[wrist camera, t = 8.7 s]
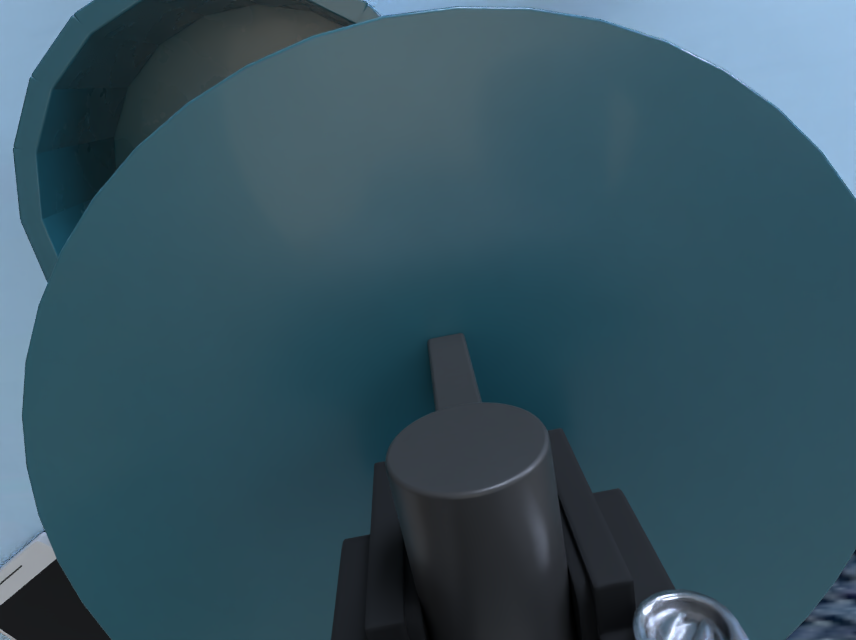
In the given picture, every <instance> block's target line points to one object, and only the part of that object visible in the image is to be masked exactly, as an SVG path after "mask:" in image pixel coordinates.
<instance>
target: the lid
mask: <svg viewBox="0 0 856 640" xmlns="http://www.w3.org/2000/svg"><path fill="white" fill-rule="evenodd" d="M22 421H23V432H24V443H25V454H26V465H27V470H28V474H29V478H30V482H31V486H32V490H33V494H34V498H35V502H36V507H37V511H38V515H39V517H40V520H41V522H42V525H43V527H44V530H45V532H46V534H47V537H48V539H49V542H50V544H51V546H52V549H53V551H54V554H55V556H56V559H57V561H58V563H59V564H60V566H61V568H62V569H63V571H64V573H65V575H66V576H67V578H68V580H69V581H70V583H71V585H72V586H73V588H74V590H75V591H76V593H77V595H78V596H79V598H80V600H81V602H82V603H83V604H84V606H85V607H86V608H87V609H88V611H89V612H90V613H91V614H92V616H93V617H94V618H95V619H96V621H97V622H98V623H99V625H100V626H101V627H102V628H103V630H104V631H105V632H106V633H107V635H108V636H109V637H110V638H111V640H331V635H332V626H333V618H334V609H335V601H336V592H337V584H338V575H339V566H340V558H341V549H342V544H343V541H344V540H345V539H348V538H353V537H359V536H364V535H369V534H370V528H371V511H372V494H373V476H374V464H375V463H378V462H383V461H385V466H386V472H387V476H388V480H389V483H390V487H391V491H392V495H393V499H394V503H395V507H396V511H397V515H398V519H399V523H400V527H401V531H402V535H403V539H404V543H405V547H406V551H407V555H408V559H409V563H410V567H411V571H412V575H413V579H414V583H415V587H416V591H417V594H418V596H419V598H420V602H421V606H422V610H423V614H424V618H425V622H426V626H427V630H428V634H429V638H430V640H578V638H577V631H576V624H575V617H574V610H573V602H572V595H571V588H570V581H569V574H568V566H567V558H566V551H565V544H564V536H563V529H562V522H561V515H560V508H559V500H558V493H557V486H556V479H555V472H554V464H553V457H552V450H551V443H550V437H549V433H548V430H553V429H559V428H562V429H563V431H564V433H565V435H566V437H567V440H568V442H569V444H570V446H571V448H572V450H573V452H574V455H575V457H576V459H577V461H578V463H579V465H580V467H581V469H582V472H583V474H584V476H585V478H586V480H587V482H588V484H589V487H590V489H591V491H592V493H596V492H601V491H607V490H612V489H617V488H619V489H620V490H622V492H623V493H624V495H625V497H626V499H627V500H628V502H629V504H630V506H631V508H632V510H633V511H634V513H635V515H636V517H637V519H638V521H639V522H640V524H641V526H642V528H643V530H644V532H645V534H646V535H647V537H648V539H649V541H650V543H651V545H652V546H653V548H654V550H655V552H656V554H657V556H658V557H659V559H660V561H661V563H662V565H663V567H664V569H665V570H666V572H667V574H668V576H669V578H670V580H671V581H672V583H673V585H674V587H675V589H684V590H690V591H695V592H700V593H702V594H704V595H707V596H709V597H712V598H714V599H715V600H717V601H718V602H720V603H721V604H722V605H724V606H725V607H727V608H728V609H729V611H730V612H731V613H732V614H733V615H734V617H735V618H736V619H737V620H738V622H739V624H740V625H741V627H742V629H743V630H744V632H745V634H746V635H747V637H748V639H749V640H785V639H786V638H787V637H788V636H789V635H790V634H791V633H792V632H793V631H794V630H795V629H796V628H797V627H798V626H799V625H800V624H801V623H802V622H803V621H804V620H805V619H806V618H807V617H808V616H809V614H810V613H811V612H812V611H813V609H814V608H815V607H816V605H817V604H818V603H819V602H820V600H821V599H822V598H823V597H824V595H825V594H826V593H827V592H828V590H829V589H830V588H831V587H832V585H833V584H834V583H835V582H836V580H837V578H838V577H839V575H840V574H841V572H842V570H843V569H844V567H845V565H846V564H847V562H848V561H849V559H850V557H851V556H852V554H853V553H854V551H855V549H856V198H855V197H854V196H853V194H852V193H851V191H850V190H849V189H848V187H847V186H846V185H845V183H844V182H843V180H842V179H841V178H840V176H839V175H838V173H837V172H836V171H835V169H834V168H833V166H832V165H831V164H830V162H829V161H828V160H827V158H826V157H825V155H824V154H823V153H822V151H821V150H820V149H819V148H818V147H817V146H816V145H815V144H814V143H813V142H812V141H811V140H810V139H809V138H808V137H807V136H806V135H805V134H804V133H803V132H802V131H801V130H800V129H799V128H798V127H797V126H796V125H795V124H794V123H793V122H792V121H791V120H790V119H789V118H788V117H787V116H786V115H785V114H784V113H783V112H782V111H781V110H780V109H779V108H778V107H776V106H775V105H773V104H772V103H771V102H769V101H768V100H766V99H765V98H764V97H762V96H761V95H759V94H758V93H757V92H755V91H754V90H753V89H751V88H750V87H748V86H747V85H746V84H744V83H743V82H741V81H740V80H739V79H737V78H736V77H734V76H733V75H732V74H730V73H729V72H727V71H726V70H724V69H722V68H720V67H718V66H716V65H714V64H712V63H710V62H708V61H706V60H704V59H702V58H700V57H698V56H696V55H694V54H692V53H690V52H688V51H686V50H684V49H682V48H680V47H678V46H676V45H674V44H672V43H670V42H668V41H666V40H663V39H660V38H657V37H654V36H651V35H648V34H645V33H642V32H638V31H635V30H632V29H629V28H626V27H623V26H620V25H617V24H614V23H611V22H607V21H604V20H601V19H596V18H590V17H584V16H578V15H572V14H566V13H560V12H553V11H547V10H541V9H535V8H525V7H459V6H456V7H448V8H441V9H433V10H425V11H418V12H410V13H402V14H395V15H387V16H381V17H378V18H374V19H371V20H367V21H364V22H360V23H357V24H353V25H349V26H346V27H342V28H339V29H335V30H332V31H328V32H325V33H321V34H317V35H314V36H311V37H309V38H307V39H304V40H302V41H300V42H298V43H295V44H293V45H291V46H289V47H286V48H284V49H282V50H280V51H277V52H275V53H273V54H271V55H269V56H266V57H264V58H262V59H260V60H257V61H255V62H253V63H251V64H248V65H246V66H245V67H243V68H241V69H240V70H238V71H237V72H235V73H234V74H232V75H230V76H229V77H227V78H226V79H224V80H223V81H221V82H219V83H218V84H216V85H215V86H213V87H212V88H210V89H208V90H207V91H205V92H204V93H202V94H201V95H199V96H197V97H196V98H194V99H193V100H191V101H190V102H188V103H186V104H185V105H184V106H183V107H182V108H181V109H180V110H178V111H177V112H176V113H175V114H174V115H173V116H172V117H170V118H169V119H168V120H167V121H166V122H165V123H163V124H162V125H161V126H160V127H159V128H158V129H157V130H155V131H154V132H153V133H152V134H151V135H150V136H149V137H147V138H146V139H145V140H144V141H143V142H142V143H140V144H139V145H138V146H137V147H136V148H135V149H134V150H133V151H132V153H131V154H130V155H129V156H128V157H127V158H126V160H125V161H124V162H123V163H122V164H121V166H120V167H119V168H118V169H117V170H116V171H115V173H114V174H113V175H112V176H111V177H110V179H109V180H108V181H107V182H106V183H105V184H104V186H103V187H102V188H101V189H100V190H99V192H98V193H97V194H96V195H95V196H94V197H93V199H92V201H91V202H90V204H89V206H88V207H87V209H86V210H85V212H84V214H83V215H82V217H81V219H80V220H79V222H78V224H77V225H76V227H75V229H74V230H73V232H72V233H71V235H70V237H69V238H68V240H67V242H66V243H65V245H64V247H63V248H62V250H61V252H60V254H59V257H58V259H57V262H56V264H55V267H54V269H53V272H52V274H51V276H50V279H49V281H48V284H47V286H46V289H45V291H44V294H43V296H42V298H41V301H40V303H39V306H38V310H37V315H36V319H35V323H34V328H33V332H32V336H31V341H30V345H29V349H28V353H27V358H26V364H25V379H24V394H23V408H22Z"/></svg>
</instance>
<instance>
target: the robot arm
mask: <svg viewBox="0 0 856 640" xmlns="http://www.w3.org/2000/svg"><path fill="white" fill-rule="evenodd" d="M548 433H549V437H550V443H551V450H552V457H553V464H554V472H555V479H556V486H557V493H558V500H559V508H560V515H561V522H562V529H563V536H564V544H565V551H566V558H567V566H568V574H569V581H570V588H571V595H572V602H573V610H574V617H575V624H576V631H577V638H578V640H749V639H748V637H747V635H746V634H745V632H744V630H743V629H742V627H741V625H740V624H739V622H738V620H737V619H736V618H735V617H734V615H733V614H732V613H731V612H730V611H729V609H728V608H727V607H725V606H724V605H722V604H721V603H720V602H718V601H717V600H715V599H714V598H712V597H709V596H707V595H704V594H702V593H700V592H695V591H690V590H684V589H675V587H674V585H673V583H672V581H671V580H670V578H669V576H668V574H667V572H666V570H665V569H664V567H663V565H662V563H661V561H660V559H659V557H658V556H657V554H656V552H655V550H654V548H653V546H652V545H651V543H650V541H649V539H648V537H647V535H646V534H645V532H644V530H643V528H642V526H641V524H640V522H639V521H638V519H637V517H636V515H635V513H634V511H633V510H632V508H631V506H630V504H629V502H628V500H627V499H626V497H625V495H624V493H623V492H622V490H620V489H619V488H617V489H612V490H607V491H601V492H596V493H592V491H591V489H590V487H589V484H588V482H587V480H586V478H585V476H584V474H583V472H582V469H581V467H580V465H579V463H578V461H577V459H576V457H575V455H574V452H573V450H572V448H571V446H570V444H569V442H568V440H567V437H566V435H565V433H564V431H563V429H562V428H559V429H553V430H548ZM331 640H430V638H429V634H428V630H427V626H426V622H425V618H424V614H423V610H422V606H421V602H420V598H419V596H418V594H417V591H416V587H415V583H414V579H413V575H412V571H411V567H410V563H409V559H408V555H407V551H406V547H405V543H404V539H403V535H402V531H401V527H400V523H399V519H398V515H397V511H396V507H395V503H394V499H393V495H392V491H391V487H390V483H389V480H388V476H387V472H386V466H385V461H383V462H378V463H375V464H374V476H373V494H372V511H371V528H370V534H369V535H364V536H359V537H353V538H348V539H345V540H344V541H343V544H342V549H341V558H340V566H339V575H338V584H337V592H336V601H335V609H334V618H333V626H332V635H331Z"/></svg>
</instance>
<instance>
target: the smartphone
mask: <svg viewBox="0 0 856 640" xmlns="http://www.w3.org/2000/svg"><path fill="white" fill-rule="evenodd" d="M0 632H1V633H2V634H4V635H5V636H7V637H8V638H10V639H11V640H111V638H110V637H109V636H108V635H107V633H106V632H105V631H104V630H103V628H102V627H101V626H100V625H99V623H98V622H97V621H96V619H95V618H94V617H93V616H92V614H91V613H90V612H89V611H88V609H87V608H86V607H85V606H84V604H83V603H82V602H81V600H80V598H79V596H78V595H77V593H76V591H75V590H74V588H73V586H72V585H71V583H70V581H69V580H68V578H67V576H66V575H65V573H64V571H63V569H62V568H61V566H60V564H59V563H58V561H57V559H56V556H55V554H54V551H53V549H52V546H51V544H50V542H49V539H48V537H47V534H46V533H45V532H43V533H41V534H40V535H39V536H37V537H36V538H35V539H34V540H33V541H32V542H30V543H29V544H28V545H27V546H26V547H25V548H23V549H22V550H21V551H20V552H19V553H17V554H16V555H15V556H14V557H13V558H12V559H10V560H9V561H8V562H7V563H6V564H5V565H3V566H2V567H1V568H0Z"/></svg>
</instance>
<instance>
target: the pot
mask: <svg viewBox="0 0 856 640" xmlns="http://www.w3.org/2000/svg"><path fill="white" fill-rule="evenodd" d="M378 17H381V15H380V14H379V13H378V12H377V11H376V10H375V9H374V8H373V7H372V6H371V5H369V4H368V3H367V2H365V1H363V0H93V1H92V2H90V3H89V4H87V5H86V6H84V7H83V8H81V9H80V10H78V11H77V12H75V14H74V15H73V16H71V18H70V19H69V21H68V22H67V24H66V25H65V27H64V28H63V29H62V31H61V32H60V34H59V35H58V37H57V38H56V40H55V41H54V43H53V44H52V45H51V47H50V48H49V50H48V51H47V53H46V54H45V56H44V57H43V59H42V60H41V61H40V63H39V64H38V66H37V67H36V69H35V70H34V72H33V73H32V77H30V80H29V84H28V88H27V92H26V96H25V100H24V105H23V109H22V113H21V117H20V121H19V125H18V130H17V134H16V138H15V142H14V148H13V153H14V163H15V173H16V182H17V192H18V202H19V211H20V219H21V223H22V225H23V227H24V229H25V232H26V234H27V236H28V239H29V241H30V243H31V246H32V248H33V250H34V252H35V255H36V257H37V259H38V262H39V264H40V266H41V269H42V271H43V273H44V275H45V278H46V280H47V282H48V281H49V279H50V276H51V274H52V272H53V269H54V267H55V264H56V262H57V259H58V257H59V254H60V252H61V250H62V248H63V247H64V245H65V243H66V242H67V240H68V238H69V237H70V235H71V233H72V232H73V230H74V229H75V227H76V225H77V224H78V222H79V220H80V219H81V217H82V215H83V214H84V212H85V210H86V209H87V207H88V206H89V204H90V202H91V201H92V199H93V197H94V196H95V195H96V194H97V193H98V192H99V190H100V189H101V188H102V187H103V186H104V184H105V183H106V182H107V181H108V180H109V179H110V177H111V176H112V175H113V174H114V173H115V171H116V170H117V169H118V168H119V167H120V166H121V164H122V163H123V162H124V161H125V160H126V158H127V157H128V156H129V155H130V154H131V153H132V151H133V150H134V149H135V148H136V147H137V146H138V145H139V144H140V143H142V142H143V141H144V140H145V139H146V138H147V137H149V136H150V135H151V134H152V133H153V132H154V131H155V130H157V129H158V128H159V127H160V126H161V125H162V124H163V123H165V122H166V121H167V120H168V119H169V118H170V117H172V116H173V115H174V114H175V113H176V112H177V111H178V110H180V109H181V108H182V107H183V106H184V105H185V104H186V103H188V102H190V101H191V100H193V99H194V98H196V97H197V96H199V95H201V94H202V93H204V92H205V91H207V90H208V89H210V88H212V87H213V86H215V85H216V84H218V83H219V82H221V81H223V80H224V79H226V78H227V77H229V76H230V75H232V74H234V73H235V72H237V71H238V70H240V69H241V68H243V67H245V66H246V65H248V64H251V63H253V62H255V61H257V60H260V59H262V58H264V57H266V56H269V55H271V54H273V53H275V52H277V51H280V50H282V49H284V48H286V47H289V46H291V45H293V44H295V43H298V42H300V41H302V40H304V39H307V38H309V37H311V36H314V35H317V34H321V33H325V32H328V31H332V30H335V29H339V28H342V27H346V26H349V25H353V24H357V23H360V22H364V21H367V20H371V19H374V18H378Z"/></svg>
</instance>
